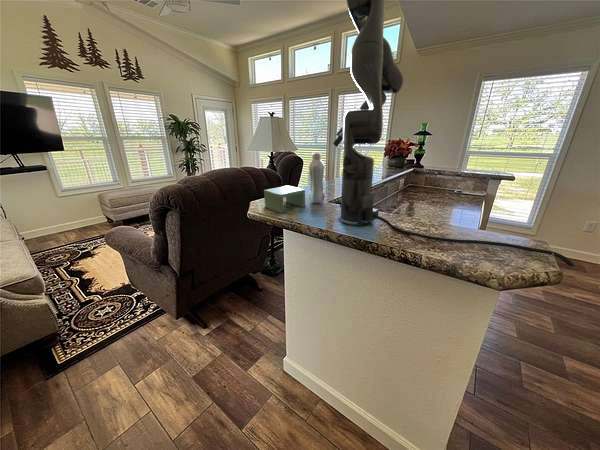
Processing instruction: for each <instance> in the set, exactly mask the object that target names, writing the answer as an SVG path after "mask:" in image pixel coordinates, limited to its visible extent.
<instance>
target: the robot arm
mask: <svg viewBox="0 0 600 450" xmlns="http://www.w3.org/2000/svg"><path fill="white" fill-rule="evenodd" d="M386 3H387V0H346V5H347V9H348V13H349V15H350V18H351V19H352V22H353V25H354V26H355V28H356V30H357V32H358V33H357V36H356V38H355V40H354V41H353V44H352V47H351V52H350V74H351V77H352V79H353V81H354V82H355V84H356V86H357V88H359V90H360V91H361V92H362V94H363V96H364V97H365V100H364V101H363V102H362V103H361V105H359V107H358V108H357V109H351V110H347V111H346V112H345V114H344V117H343V123H342V124H343V125H342V126H341V128H340V129H339V130H338V131H337V133H336V136H337V137H336V139H335V140H333V143H332V144H333V145H334V147H336V148H337V147H338V146H339V145H340V144H341V143H342V142H343V145H342V146H343V152H342V168H341V169H342V170H341V171H342V173H341V174H342V175H341V194H340V195H341V196H340V197H341V198H340V204H339V208H340V215H339V219H340V222H341V223H343V224H346V225H349V226H359V227H362V226H365V225H367V224H368V223H371V222H373V221H375V220H379V221H381V222H383V223H385V224H386V225H387V226H388V227H389V228H391V229H392V230H395V231H397V232H399V233H402V234H405V235H409V236H414V237H418V238H422V239H427V240H432V241H438V242H439V241H440V242H445V243H455V244H456V243H457V244H475V245H485V246H486V245H487V246H497V247H505V248H510V249H517V250H521V251H526V252H531V253H539V254H545V255H549V256H553V254H554V256H553V257H555V258H558V259H560V260H561V261H562V262H563V263H565V264H566V265H567V266H569V267H576V265H575V264H574V263H573V262H572V261H571V260H570V259H569V258H567V256H565V255H563V254H561V253H558V252H556V251H553V250H549V249H544V248H535V247H529V246H525V245H520V244H513V243H507V242H499V241H489V240H478V239H457V238H447V237H439V236H434V235H427V234H423V233H418V232H414V231H411V230H410V231H409V230H405V229H402V228H399V227H397V226H395V225H394V224H392V223H390V222H389V220H388V219H386V218H384V217H382V216H379V213H380V209H377V208H374V199H375V194H374V192H372V190H373V189H372V188H373V177H374V168H375V167H374V165H375V159H374V158H373V157H371V156H368V155H365V154H362V153H361V152H359V151H358V150H357V149H356V148H355V145H374V144H375V145H377V144H378V143H379V142H380V141H381V139H382V135H383V127H384V114H383V113H384V112H383V107H384V105H385V104H386V101H387V95H386V94H391V95H393V94H394V95H395V94H397V93H399V92H400V91H401V90H402V88H403V86H404V76H403V73H402V71H401V69H400V68H399V66H398V64H397V63H396V62H395V60H394V55H393V51H392V48H391V45H390V43H389V41H388V40H387V38H386V37H384V25H385V24H384V23H385V14H386V5H387V4H386ZM552 253H553V254H552Z"/></svg>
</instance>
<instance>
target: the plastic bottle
mask: <svg viewBox="0 0 600 450" xmlns="http://www.w3.org/2000/svg"><path fill="white" fill-rule="evenodd" d="M322 159H323V157H322V153H321V152H312V153H311V161H310V163H309V165H308V172H309V173H308V174H309V181H310V182H309V183H310V186H309V194H308V199H309V201H310V202H311V204H312V203H313V204H321V203H323V202H324V201H325V197H326V195H325V190H324V189H325V188H324V176H325V170H326V169H325V168H326V166H325V163H324V162H323V160H322Z"/></svg>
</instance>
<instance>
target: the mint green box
mask: <svg viewBox="0 0 600 450" xmlns="http://www.w3.org/2000/svg"><path fill="white" fill-rule="evenodd" d="M263 196H264V198H263V199H264V207H265V208H266V209H269V210H272V211H274V212H276V213H279V214H284V212H285V210H284V198H285V199H286V200H285V202H286V203H289V204H292V205H294V206H298V207H301V208H305V207H306V189H305V188H302V187H301V188H300V187H297V186H293V185H288V184H287V185H283V186H277V187H273V188H268V189H263Z"/></svg>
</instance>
